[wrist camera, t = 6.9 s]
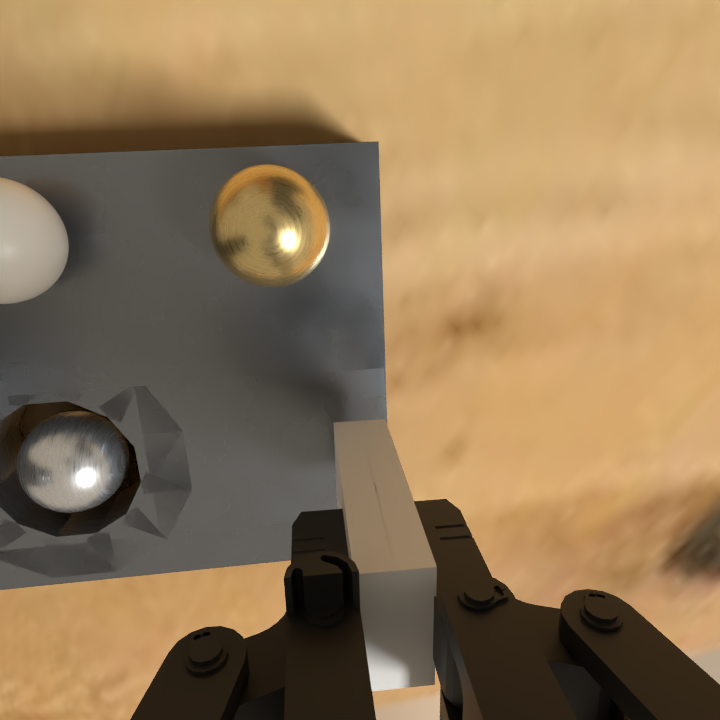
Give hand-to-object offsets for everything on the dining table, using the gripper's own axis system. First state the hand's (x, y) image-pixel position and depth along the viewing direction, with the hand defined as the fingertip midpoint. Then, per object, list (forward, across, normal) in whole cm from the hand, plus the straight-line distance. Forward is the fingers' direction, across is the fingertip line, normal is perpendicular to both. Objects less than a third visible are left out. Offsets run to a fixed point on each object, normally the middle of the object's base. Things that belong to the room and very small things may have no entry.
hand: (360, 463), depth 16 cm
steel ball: (+2, -9, 0) cm, 9 cm away
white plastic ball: (0, -9, +7) cm, 11 cm away
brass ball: (0, -2, +7) cm, 7 cm away
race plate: (+4, -6, +2) cm, 8 cm away
